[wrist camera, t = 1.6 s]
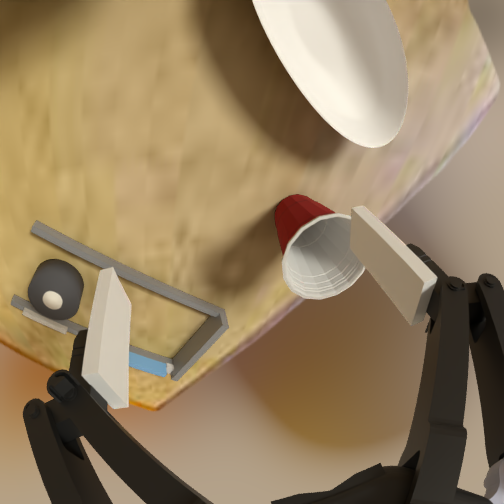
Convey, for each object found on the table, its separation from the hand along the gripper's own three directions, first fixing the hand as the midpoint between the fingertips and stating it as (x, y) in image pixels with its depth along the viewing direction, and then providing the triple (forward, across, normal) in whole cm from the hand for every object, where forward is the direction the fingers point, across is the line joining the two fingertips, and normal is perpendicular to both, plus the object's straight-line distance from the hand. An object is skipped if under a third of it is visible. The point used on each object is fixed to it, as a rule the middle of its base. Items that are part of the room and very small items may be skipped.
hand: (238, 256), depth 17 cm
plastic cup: (+23, +10, -12) cm, 28 cm away
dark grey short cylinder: (+23, -25, -14) cm, 37 cm away
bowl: (+24, +16, +12) cm, 31 cm away
